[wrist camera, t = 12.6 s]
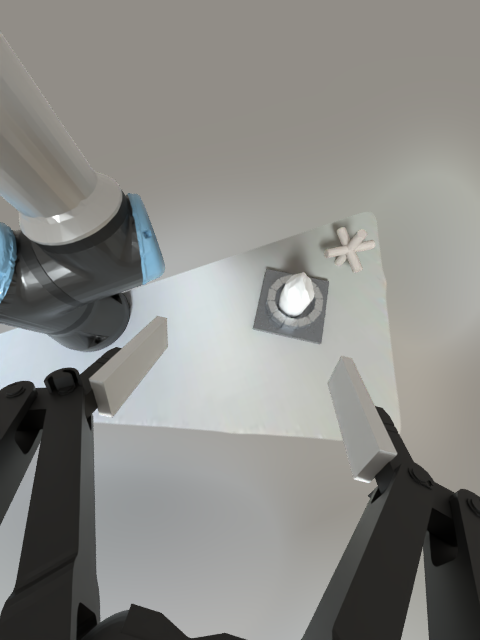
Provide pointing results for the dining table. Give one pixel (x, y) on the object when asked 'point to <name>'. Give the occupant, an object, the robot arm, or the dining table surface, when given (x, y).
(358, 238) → the pipe connector
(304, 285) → the white faceted pointed piece
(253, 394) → the dining table surface
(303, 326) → the collar
